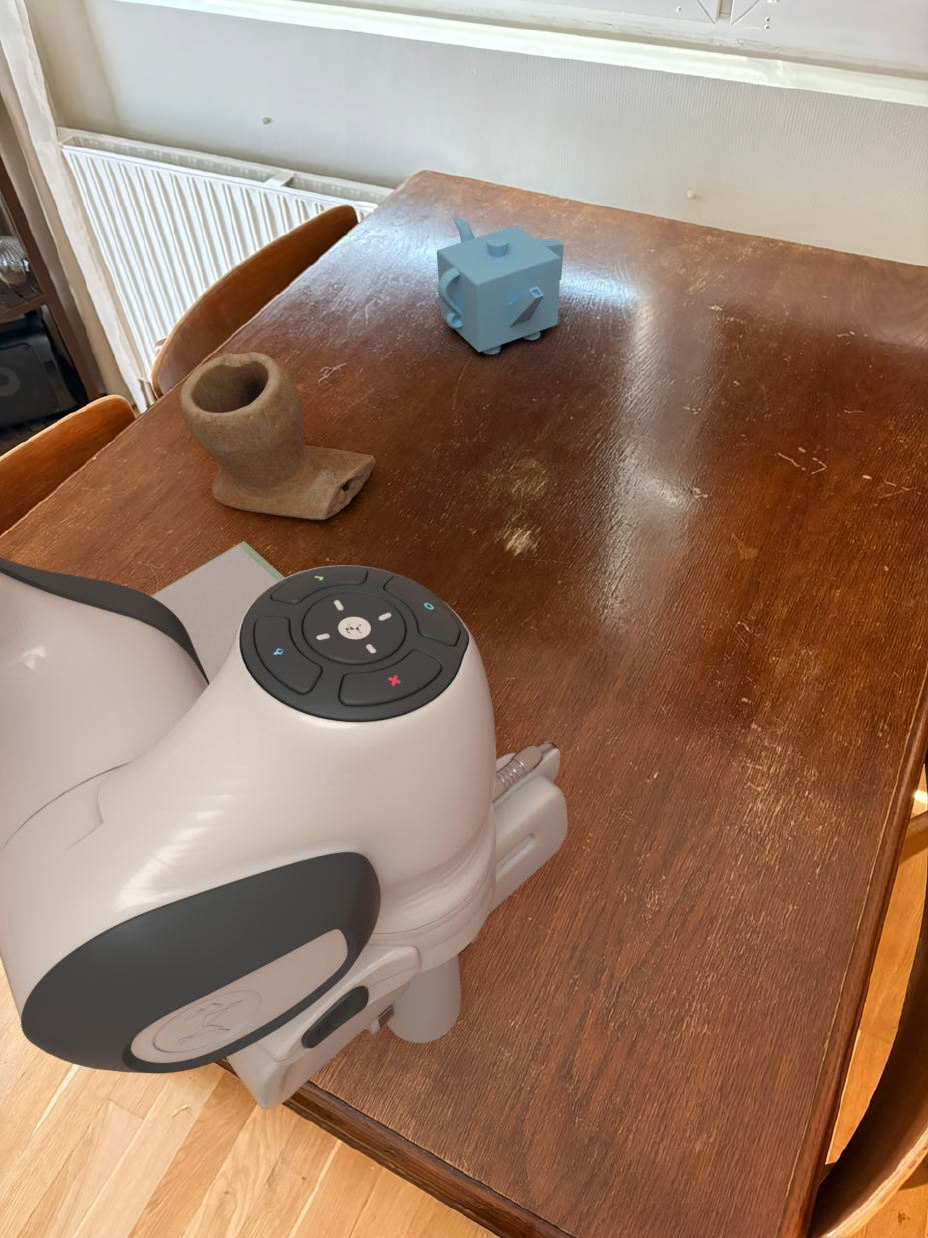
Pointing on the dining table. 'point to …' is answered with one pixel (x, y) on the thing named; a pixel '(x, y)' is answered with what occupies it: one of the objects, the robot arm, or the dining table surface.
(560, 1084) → the dining table surface
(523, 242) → the teapot
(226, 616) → the scale
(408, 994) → the beverage can
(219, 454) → the tan stone pipe
